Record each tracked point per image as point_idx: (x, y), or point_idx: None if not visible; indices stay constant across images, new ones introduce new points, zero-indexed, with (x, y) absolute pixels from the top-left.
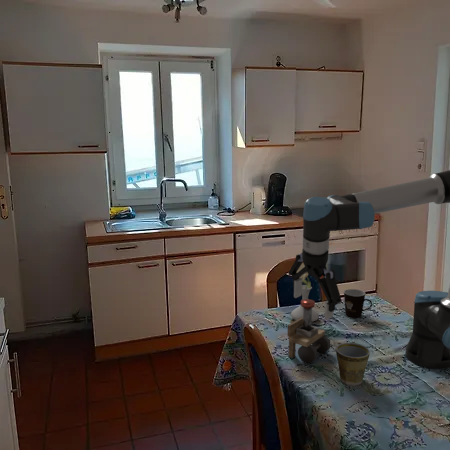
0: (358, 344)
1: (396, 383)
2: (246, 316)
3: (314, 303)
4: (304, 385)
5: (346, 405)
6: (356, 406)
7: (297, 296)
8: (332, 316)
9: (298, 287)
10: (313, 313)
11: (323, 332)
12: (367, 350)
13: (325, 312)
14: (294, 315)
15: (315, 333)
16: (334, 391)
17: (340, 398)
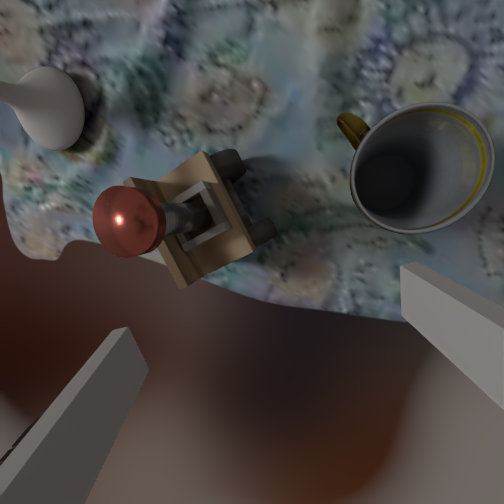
0: (389, 119)
1: (465, 68)
2: (28, 243)
3: (146, 198)
4: (347, 300)
5: (474, 267)
6: (493, 248)
7: (140, 362)
8: (419, 266)
9: (94, 429)
10: (56, 88)
11: (207, 159)
12: (443, 109)
13: (448, 353)
14: (53, 145)
15: (215, 197)
16: (405, 255)
17: (440, 261)
